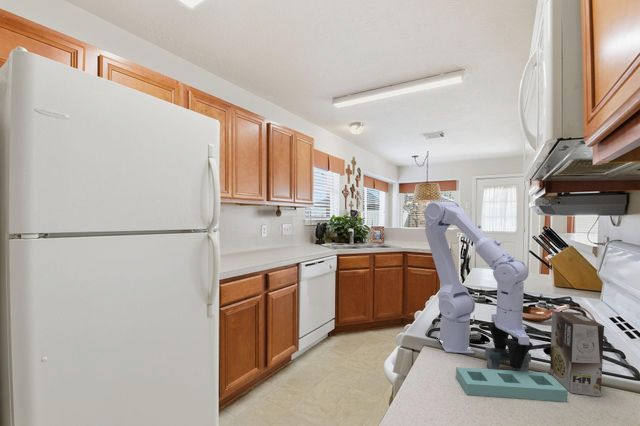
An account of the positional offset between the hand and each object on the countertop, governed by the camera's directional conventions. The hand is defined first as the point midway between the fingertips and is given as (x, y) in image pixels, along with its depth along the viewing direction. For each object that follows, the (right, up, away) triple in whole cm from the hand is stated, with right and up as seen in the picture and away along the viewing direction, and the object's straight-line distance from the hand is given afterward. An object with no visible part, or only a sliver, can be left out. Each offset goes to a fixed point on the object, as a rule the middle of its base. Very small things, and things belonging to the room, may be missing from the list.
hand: (507, 359), depth 79 cm
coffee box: (+13, -3, -6) cm, 14 cm away
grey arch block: (0, -3, 0) cm, 3 cm away
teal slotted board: (-5, -3, -8) cm, 10 cm away
